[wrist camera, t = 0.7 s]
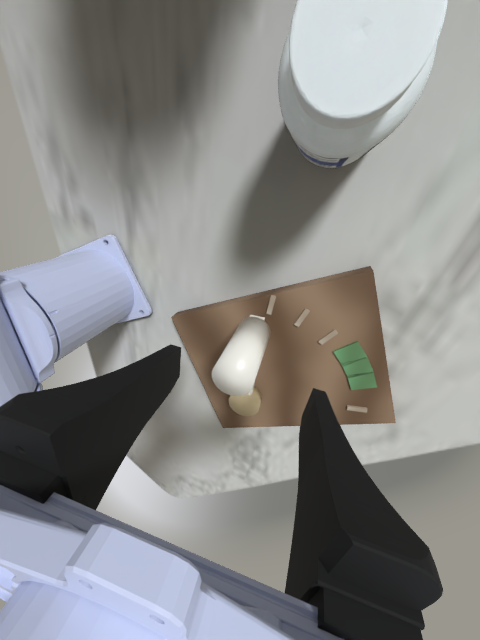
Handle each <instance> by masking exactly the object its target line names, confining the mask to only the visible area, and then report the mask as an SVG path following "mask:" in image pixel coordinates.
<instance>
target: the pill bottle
mask: <svg viewBox="0 0 480 640" xmlns="http://www.w3.org/2000/svg"><path fill="white" fill-rule="evenodd" d="M447 1H448V0H298V1H297V4H296V7H295V11H294V14H293V18H292V23H291V28H290V31H289V33H288V36H287V39H286V42H285V45H284V48H283V52H282V56H281V61H280V67H279V76H278V93H279V102H280V107H281V112H282V116H283V118H284V121H285V124H286V126H287V128H288V130H289V132H290V134H291V136H292V138H293V140H294V141H295V143H296V145H297V147H298V149H299V151H300V152H301V153H302V155H303V156H304V157H305V158H306V159H307V160H308V161H310V162H311V163H313V164H315V165H318V166H320V167H325V168H338V167H342V166H345V165H347V164H350V163H352V162H354V161H356V160H357V159H359V158H361V157H362V156H364V155H365V154H366V153H367V152H369V151H370V150H371V149H372V148H373V147H375V146H376V145H377V144H379V143H380V142H381V141H383V140H384V139H385V138H386V137H388V136H389V135H390V134H391V133H392V132H393V131H394V130H395V129H396V128H397V127H398V126H399V125H400V124H401V123H402V121H403V120H404V119H405V118H406V116H407V115H408V114H409V112H410V111H411V109H412V108H413V106H414V105H415V104H416V102H417V100H418V98H419V97H420V95H421V93H422V91H423V89H424V87H425V85H426V82H427V80H428V77H429V75H430V72H431V69H432V65H433V62H434V58H435V52H436V47H437V40H438V37H439V34H440V32H441V30H442V26H443V22H444V18H445V14H446V9H447Z"/></svg>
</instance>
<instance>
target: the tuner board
mask: <svg viewBox="0 0 480 640" xmlns="http://www.w3.org/2000/svg"><path fill="white" fill-rule="evenodd" d="M250 315H255V316H260V317H265V322H266V323H267V324H268V326H269V328H270V337H269V340H268V343H267V346H266V349H265V352H264V355H263V358H262V361H261V364H260V367H259V370H258V373H257V376H256V379H255V384H254V387H256V388H257V389H258V390H259V391H260V393H261V395H262V401H261V404H260V408H259V411H258V412H257V413H256V414H255V415H253V416H242V415H239V414H237V413H236V412H235V411H233V410H232V408H231V407H230V405H229V397H230V395H228V394H226V393H224V392H222V391H221V390H220V389H218V388H217V386H216V385H215V384H214V382H213V379H212V370H213V368H214V366H215V364H216V363H217V361H218V359H219V358H220V356H221V354H222V353H223V351H224V349H225V348H226V346H227V344H228V343H229V341H230V339H231V338H232V336H233V334H234V333H235V331H236V329H237V327H238V326H239V324H240V323H241V321H242V320H243V319H245V318H247V317H250ZM171 318H172V320H173V322H174V324H175V326H176V328H177V331H178V333H179V335H180V337H181V339H182V341H183V343H184V345H185V348H186V350H187V352H188V354H189V356H190V358H191V360H192V363H193V365H194V367H195V369H196V371H197V373H198V375H199V377H200V380H201V382H202V384H203V386H204V388H205V390H206V392H207V395H208V397H209V399H210V401H211V403H212V405H213V407H214V409H215V412H216V414H217V416H218V418H219V420H220V422H221V424H222V427H223V428H237V427H272V426H300V425H301V418H302V414H303V412H304V409H305V407H306V404H307V402H308V399H309V397H310V394H311V392H312V390H313V388H315V389H318V390H322V391H325V392H326V393H327V396H328V398H329V401H330V404H331V406H332V408H333V411H334V413H335V416H336V418H337V420H338V422H339V424H340V425H342V424H378V423H396V422H395V415H394V409H393V402H392V395H391V388H390V381H389V375H388V368H387V361H386V354H385V347H384V341H383V334H382V327H381V320H380V313H379V307H378V300H377V293H376V286H375V279H374V273H373V270H372V268H371V267H370V266H369V267H365V268H360V269H356V270H352V271H348V272H344V273H339V274H335V275H331V276H327V277H323V278H319V279H314V280H310V281H306V282H302V283H298V284H293V285H289V286H285V287H281V288H277V289H272V290H268V291H264V292H260V293H256V294H252V295H247V296H243V297H239V298H235V299H231V300H226V301H222V302H218V303H214V304H210V305H205V306H201V307H197V308H193V309H189V310H184V311H180V312H177V313H176V314H175V315H174V316H172V317H171Z"/></svg>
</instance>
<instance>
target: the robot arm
mask: <svg viewBox="0 0 480 640" xmlns="http://www.w3.org/2000/svg"><path fill="white" fill-rule="evenodd" d="M107 241H108V244H107ZM142 311H143V312H144V313H143V312H142ZM151 313H152V309H151V307H150V305H149V303H148V301H147V299H146V297H145V295H144V293H143V291H142V289H141V287H140V285H139V283H138V281H137V279H136V277H135V275H134V273H133V271H132V269H131V267H130V265H129V263H128V261H127V259H126V256H125V254H124V252H123V250H122V248H121V246H120V244H119V242H118V240H117V238H116V237H115V236H114V235H107V236H105V237H102V238H100V239H98V240H95V241H93V242H91V243H88V244H86V245H84V246H81V247H79V248H77V249H74V250H72V251H70V252H68V253H65V254H63V255H61V256H58V257H56V258H53V259H49V260H45V261H42V262H38V263H34V264H30V265H26V266H22V267H18V268H14V269H10V270H6V271H2V272H0V599H2V600H4V601H5V602H6V604H5V605H4V606H3V608H2V609H1V610H0V640H423V639H422V634H421V630H423V629H424V627H425V625H424V620H423V616H422V612H421V610H423V609H425V608H426V607H428V606H429V605H431V604H433V603H434V602H436V601H437V600H438V599H439V598H440V597H441V596H442V592H443V588H442V584H441V581H440V578H439V575H438V571H437V568H436V565H435V562H434V560H433V558H432V555H431V552H430V550H429V548H428V546H427V545H426V544H425V543H424V542H423V541H422V540H421V539H420V538H419V537H418V535H417V534H416V533H415V532H414V531H413V530H412V529H411V528H410V527H409V526H408V524H407V523H406V522H405V521H404V520H403V519H402V518H401V516H400V515H399V514H398V513H397V512H396V511H395V509H394V508H393V507H392V506H391V505H390V503H389V502H388V501H387V499H386V498H385V497H384V496H383V494H382V493H381V492H380V491H379V489H378V488H377V486H376V485H375V484H374V482H373V481H372V479H371V478H370V477H369V476H368V474H367V472H366V471H365V469H364V468H363V466H362V465H361V463H360V461H359V460H358V458H357V456H356V455H355V453H354V451H353V450H352V448H351V446H350V444H349V442H348V440H347V439H346V437H345V435H344V433H343V431H342V429H341V426H340V424H339V422H338V420H337V418H336V416H335V413H334V411H333V408H332V406H331V404H330V401H329V398H328V396H327V393H326V392H325V391H322V390H318V389H315V388H313V390H312V392H311V394H310V397H309V399H308V402H307V404H306V407H305V409H304V412H303V414H302V418H301V425H300V433H299V481H298V495H297V504H296V513H295V522H294V530H293V538H292V546H291V553H290V560H289V568H288V574H287V581H286V588H285V593H283V592H281V591H278V590H276V589H274V588H272V587H269V586H267V585H264V584H262V583H260V582H258V581H256V580H253V579H251V578H249V577H246V576H244V575H242V574H240V573H237V572H235V571H233V570H230V569H228V568H226V567H224V566H221V565H219V564H217V563H214V562H212V561H210V560H208V559H205V558H203V557H201V556H198V555H196V554H194V553H191V552H189V551H187V550H185V549H182V548H180V547H178V546H175V545H173V544H171V543H169V542H167V541H164V540H162V539H160V538H157V537H155V536H153V535H151V534H148V533H146V532H144V531H141V530H139V529H137V528H135V527H132V526H130V525H128V524H125V523H123V522H121V521H119V520H116V519H114V518H112V517H109V516H107V515H105V514H103V513H100V512H98V511H96V508H97V507H98V505H99V503H100V501H101V499H102V497H103V495H104V493H105V492H106V490H107V488H108V486H109V484H110V482H111V481H112V479H113V477H114V475H115V473H116V472H117V470H118V468H119V466H120V465H121V463H122V461H123V460H124V458H125V456H126V455H127V453H128V451H129V449H130V448H131V446H132V445H133V443H134V441H135V440H136V438H137V436H138V435H139V433H140V432H141V430H142V429H143V427H144V426H145V425H146V423H147V422H148V421H149V419H150V418H151V417H152V415H153V414H154V413H155V411H156V410H157V409H158V408H159V406H160V405H161V404H162V402H163V401H164V400H165V398H166V397H167V396H168V394H169V393H170V392H171V390H172V388H173V387H174V385H175V383H176V381H177V380H178V378H179V375H180V358H181V347H177V346H174V345H169V346H167V347H165V348H163V349H161V350H159V351H157V352H155V353H153V354H151V355H149V356H147V357H145V358H143V359H141V360H139V361H137V362H135V363H133V364H130V365H128V366H126V367H124V368H121V369H119V370H116V371H114V372H111V373H108V374H105V375H103V376H100V377H97V378H94V379H90V380H87V381H83V382H80V383H76V384H71V385H67V386H63V387H58V388H53V389H48V390H43V388H42V384H41V382H42V381H43V380H45V379H47V378H48V377H50V376H51V375H53V374H54V373H55V371H54V366H53V364H54V363H55V362H56V361H58V360H59V359H61V358H63V357H64V356H66V355H67V354H69V353H70V352H72V351H73V350H75V349H76V348H78V347H79V346H81V345H82V344H84V343H86V342H87V341H89V340H90V339H92V338H93V337H95V336H96V335H98V334H99V333H101V332H103V331H104V330H106V329H107V328H109V327H110V326H112V325H113V324H117V323H121V322H125V321H129V320H133V319H137V318H141V317H145V316H149V315H150V314H151ZM420 629H421V630H420Z"/></svg>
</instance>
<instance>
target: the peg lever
mask: <svg viewBox="0 0 480 640" xmlns="http://www.w3.org/2000/svg"><path fill="white" fill-rule="evenodd" d="M269 337H270V328H269V326H268V324H267V323H266V322H265V317H260V316H255V315H250V317H247V318H245V319H243V320H242V321H241V323H240V324H239V326H238V327H237V329H236V331H235V333H234V334H233V336H232V338H231V339H230V341H229V343H228V344H227V346H226V348H225V349H224V351H223V353H222V354H221V356H220V358H219V359H218V361H217V363H216V364H215V366H214V368H213V370H212V379H213V382H214V384H215V385H216V386H217V388H218V389H220V390H221V391H222V392H224V393H226V394H228V395H230V397H229V405H230V407H231V408H232V410H233V411H235V412H236V413H237V414H239V415H242V416H253V415H255V414H256V413H257V412H258V411H259V408H260V404H261V401H262V395H261V393H260V391H259V390H258V389H257V388H256V387H254V384H255V379H256V376H257V373H258V370H259V367H260V364H261V361H262V358H263V355H264V352H265V349H266V346H267V343H268V340H269Z"/></svg>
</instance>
